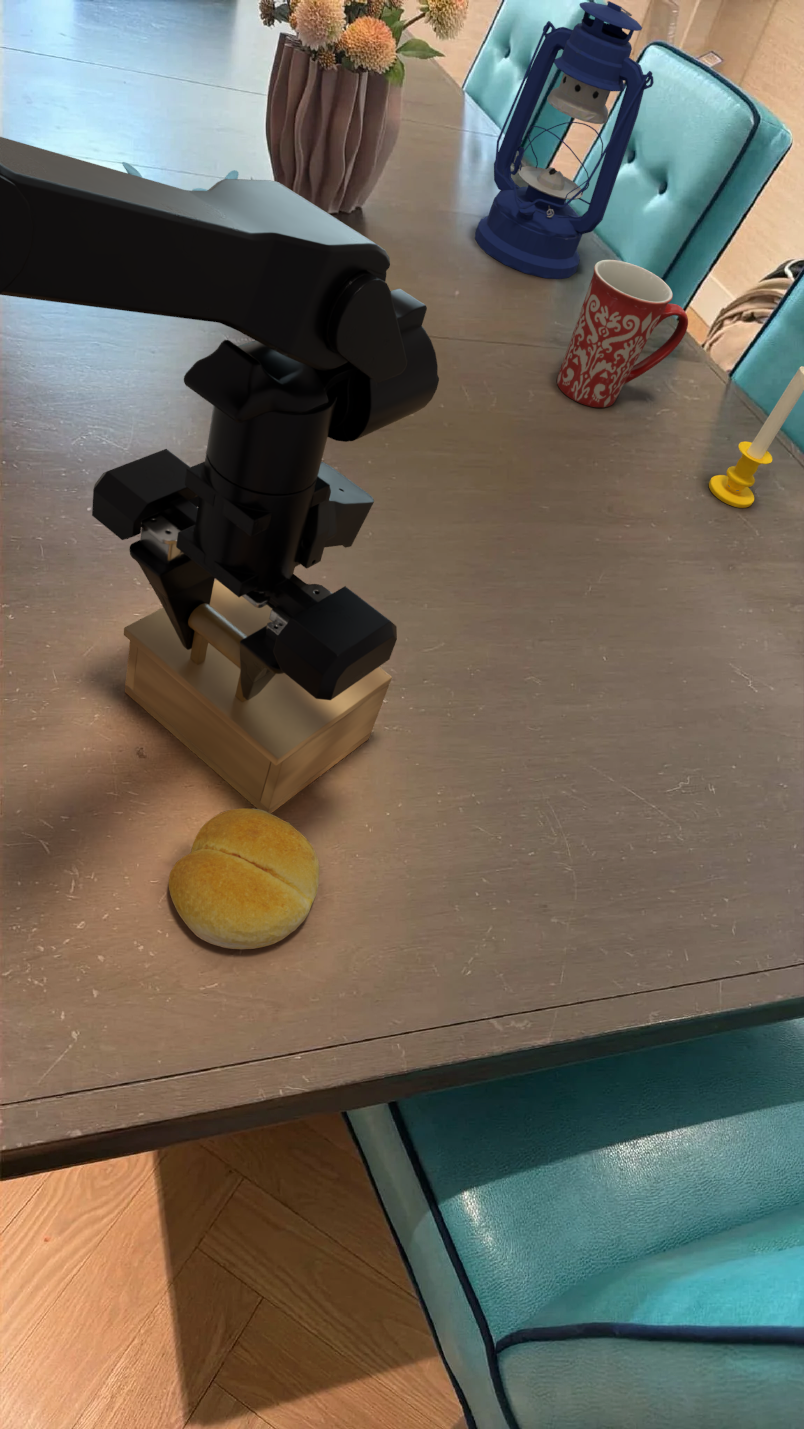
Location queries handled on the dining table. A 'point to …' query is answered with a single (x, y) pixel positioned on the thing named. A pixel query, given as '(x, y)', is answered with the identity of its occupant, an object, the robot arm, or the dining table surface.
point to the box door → (214, 675)
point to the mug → (616, 332)
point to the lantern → (537, 218)
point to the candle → (756, 451)
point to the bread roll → (245, 880)
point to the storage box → (230, 749)
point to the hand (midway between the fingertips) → (221, 670)
